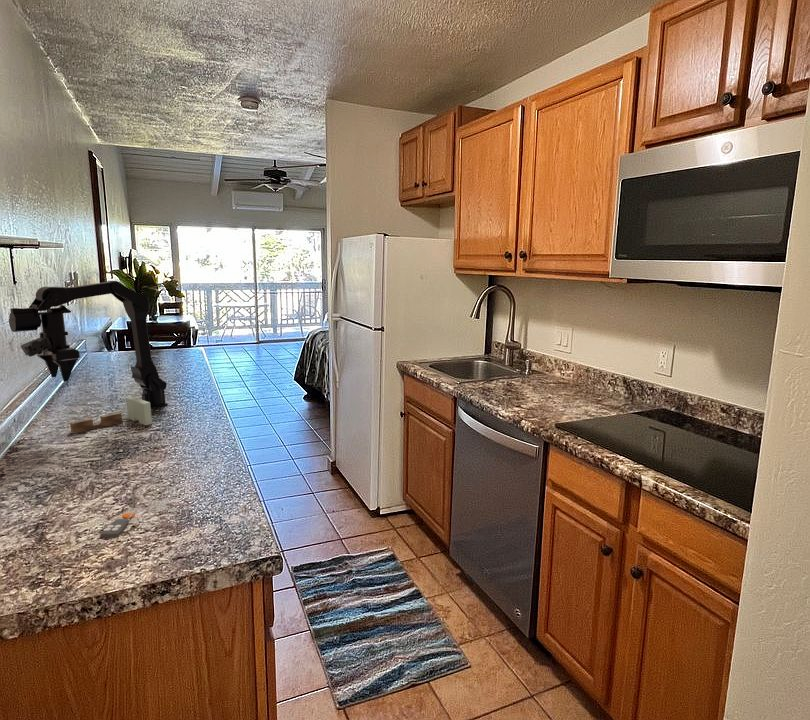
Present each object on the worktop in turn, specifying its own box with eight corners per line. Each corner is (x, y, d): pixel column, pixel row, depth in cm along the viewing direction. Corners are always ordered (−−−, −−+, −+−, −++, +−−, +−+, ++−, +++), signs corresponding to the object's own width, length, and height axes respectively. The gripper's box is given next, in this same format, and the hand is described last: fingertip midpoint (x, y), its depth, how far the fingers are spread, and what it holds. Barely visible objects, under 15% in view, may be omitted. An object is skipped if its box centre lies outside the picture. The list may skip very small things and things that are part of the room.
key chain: (119, 539, 97) (118, 532, 97) (98, 540, 97) (98, 532, 96) (148, 507, 110) (147, 500, 109) (129, 507, 109) (129, 501, 109)
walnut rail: (119, 421, 167) (118, 412, 166) (122, 422, 165) (121, 413, 165) (71, 432, 156) (69, 422, 155) (73, 433, 155) (72, 423, 154)
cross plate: (127, 418, 170) (125, 397, 168) (134, 416, 171) (132, 396, 170) (145, 425, 162) (143, 403, 161) (152, 423, 164) (150, 402, 163)
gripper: (11, 328, 156) (18, 379, 159) (33, 334, 145) (40, 388, 148) (53, 325, 165) (59, 373, 168) (77, 330, 154) (83, 381, 156)
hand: (59, 379), depth 160 cm, fingers open, 9 cm apart
